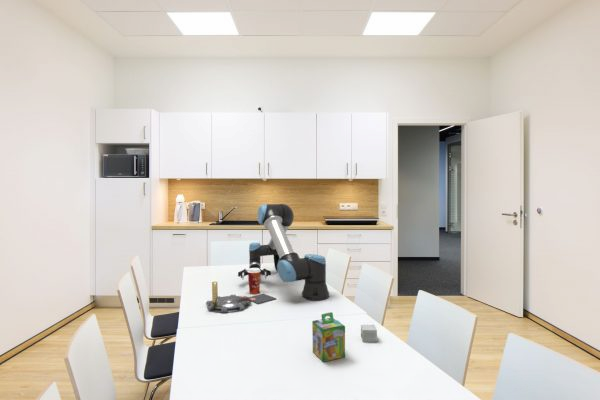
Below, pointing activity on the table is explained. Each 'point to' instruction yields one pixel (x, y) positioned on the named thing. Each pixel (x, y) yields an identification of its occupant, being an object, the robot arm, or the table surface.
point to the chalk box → (328, 338)
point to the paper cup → (254, 280)
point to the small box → (368, 333)
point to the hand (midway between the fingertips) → (254, 276)
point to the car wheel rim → (276, 260)
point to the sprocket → (226, 301)
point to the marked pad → (261, 298)
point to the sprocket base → (228, 310)
